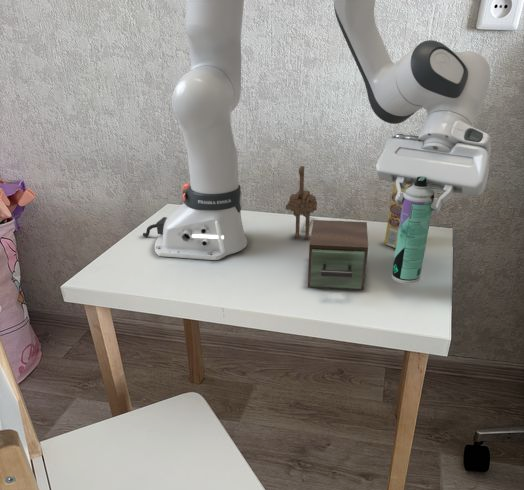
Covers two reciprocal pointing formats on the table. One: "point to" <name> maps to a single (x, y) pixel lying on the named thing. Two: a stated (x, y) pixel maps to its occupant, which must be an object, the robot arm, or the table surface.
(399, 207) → the candy box
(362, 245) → the cabinet
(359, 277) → the cabinet drawer
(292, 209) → the ostrich figurine
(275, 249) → the table surface
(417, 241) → the spray can
